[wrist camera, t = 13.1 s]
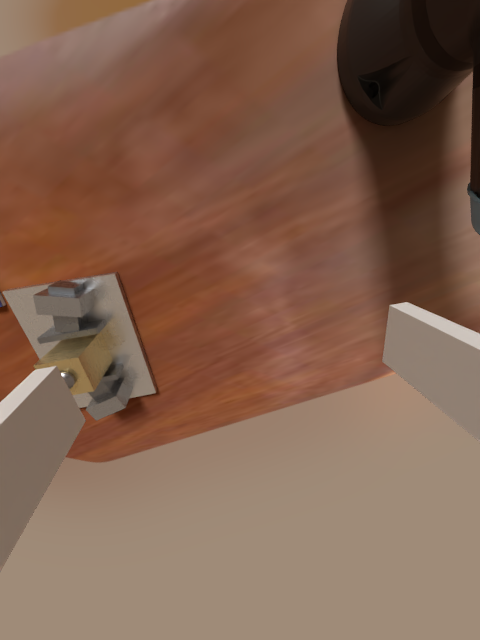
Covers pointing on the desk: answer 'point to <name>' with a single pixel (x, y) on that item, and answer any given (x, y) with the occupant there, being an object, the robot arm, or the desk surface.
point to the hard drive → (2, 301)
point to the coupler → (79, 362)
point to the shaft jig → (88, 333)
